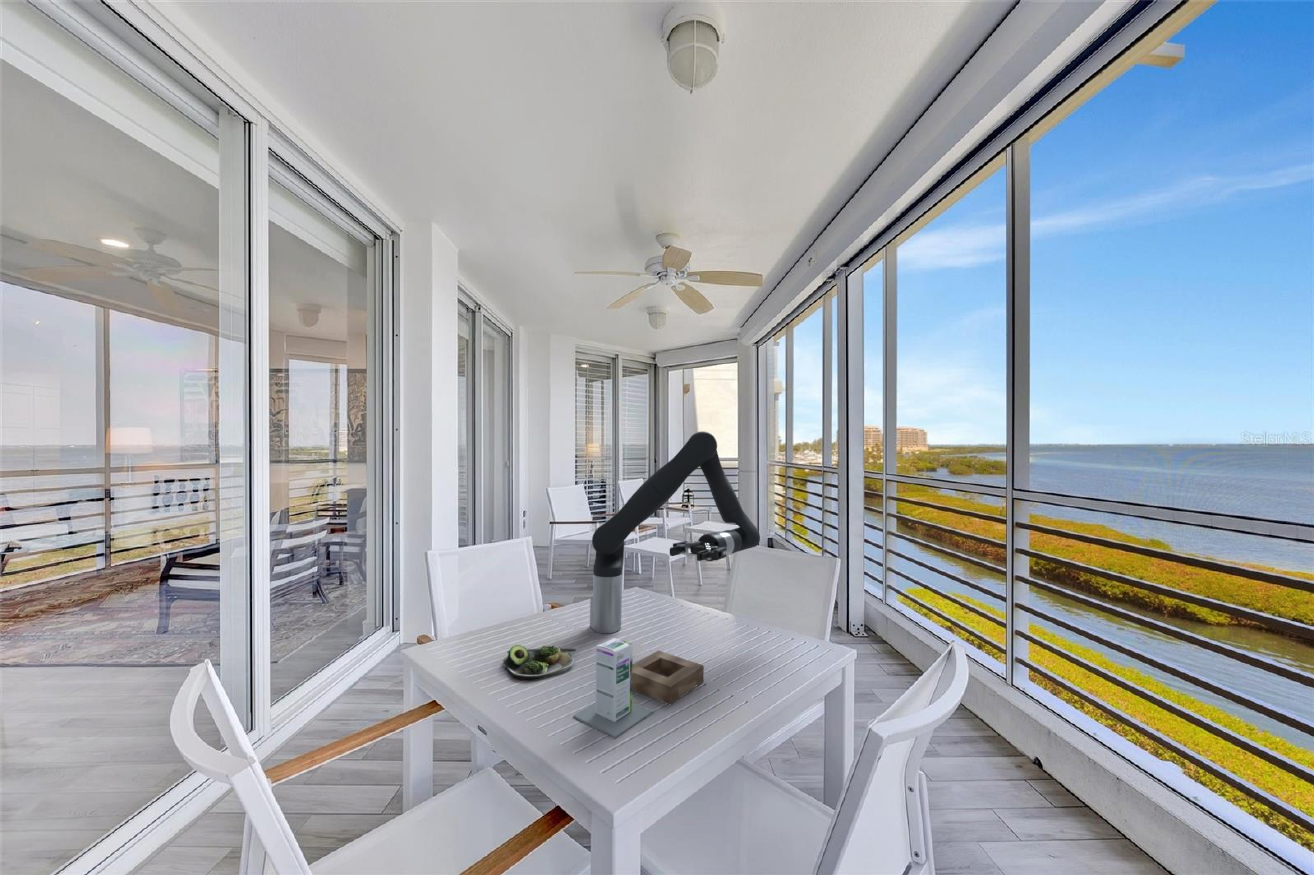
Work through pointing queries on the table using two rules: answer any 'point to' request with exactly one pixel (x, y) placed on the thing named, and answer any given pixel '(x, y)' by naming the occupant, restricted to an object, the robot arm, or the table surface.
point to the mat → (609, 726)
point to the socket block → (661, 687)
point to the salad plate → (536, 661)
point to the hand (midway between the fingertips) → (684, 554)
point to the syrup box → (614, 679)
